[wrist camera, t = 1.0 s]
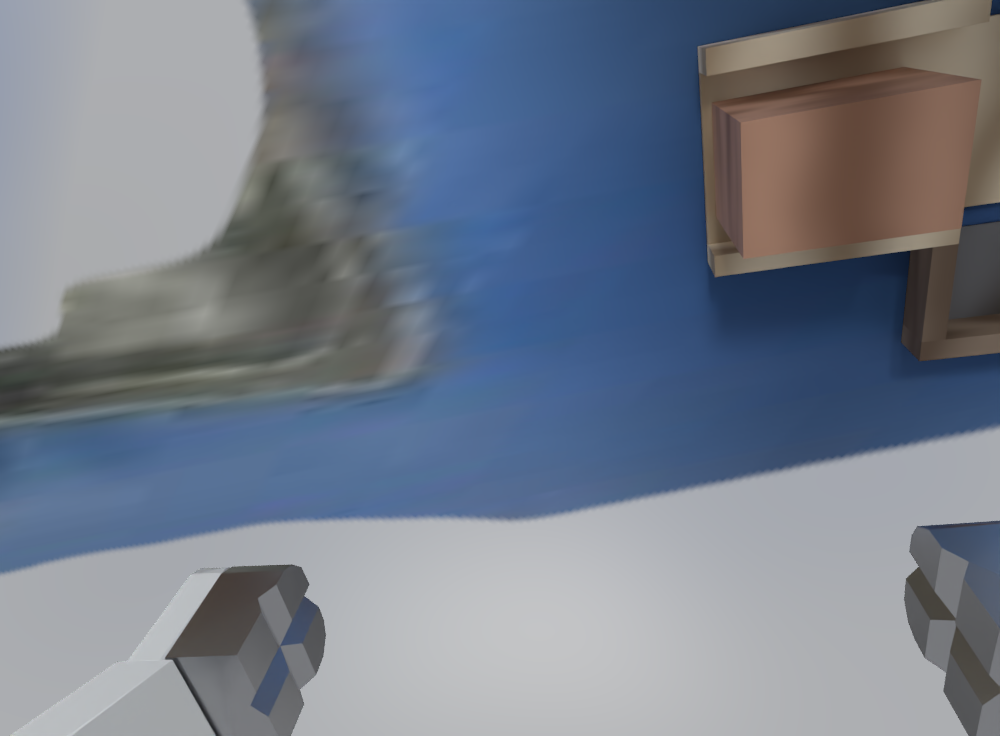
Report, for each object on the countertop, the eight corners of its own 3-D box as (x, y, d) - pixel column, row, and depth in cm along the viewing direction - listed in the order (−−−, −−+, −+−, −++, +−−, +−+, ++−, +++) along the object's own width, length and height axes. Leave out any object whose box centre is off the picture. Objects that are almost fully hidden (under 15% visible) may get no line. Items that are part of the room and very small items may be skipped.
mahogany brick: (716, 217, 36) (743, 259, 30) (711, 102, 33) (740, 122, 27) (893, 189, 34) (961, 228, 28) (904, 66, 31) (981, 79, 25)
